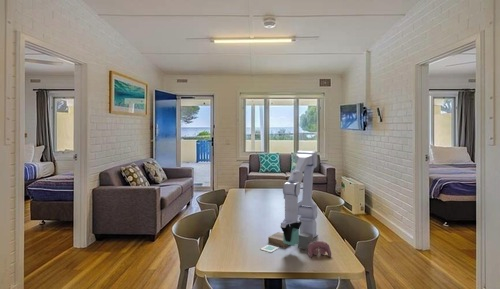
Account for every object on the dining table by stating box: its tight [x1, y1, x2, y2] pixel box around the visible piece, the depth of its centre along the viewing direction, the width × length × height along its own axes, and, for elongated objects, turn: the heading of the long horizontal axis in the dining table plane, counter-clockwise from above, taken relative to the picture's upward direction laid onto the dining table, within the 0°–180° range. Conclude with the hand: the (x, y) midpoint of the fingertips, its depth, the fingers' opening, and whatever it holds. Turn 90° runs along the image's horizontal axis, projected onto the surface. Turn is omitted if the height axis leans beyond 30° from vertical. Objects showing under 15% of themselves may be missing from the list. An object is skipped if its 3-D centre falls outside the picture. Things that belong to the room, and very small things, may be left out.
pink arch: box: [307, 240, 332, 259], centre depth 136 cm, size 10×5×7 cm, turn 92°
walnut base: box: [267, 231, 290, 248], centre depth 151 cm, size 9×9×3 cm
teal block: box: [282, 228, 299, 247], centre depth 138 cm, size 5×5×6 cm
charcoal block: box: [297, 232, 314, 251], centre depth 145 cm, size 5×5×6 cm
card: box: [259, 243, 280, 253], centre depth 143 cm, size 7×6×1 cm
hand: (291, 239), depth 138 cm, fingers closed on teal block, 5 cm apart
